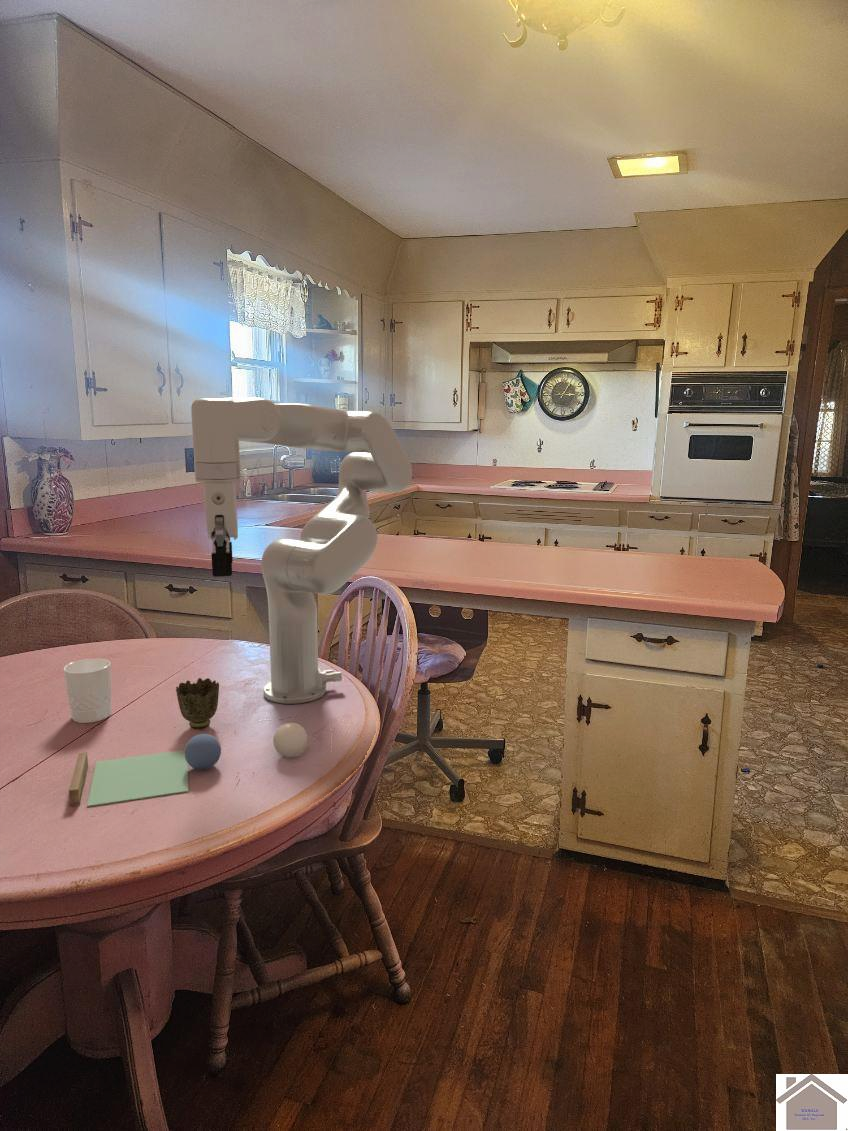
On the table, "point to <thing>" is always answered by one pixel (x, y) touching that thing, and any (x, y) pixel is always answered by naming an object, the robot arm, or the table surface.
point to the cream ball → (290, 740)
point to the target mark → (138, 778)
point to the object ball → (202, 751)
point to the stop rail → (78, 779)
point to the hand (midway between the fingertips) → (223, 569)
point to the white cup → (89, 689)
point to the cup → (198, 702)
